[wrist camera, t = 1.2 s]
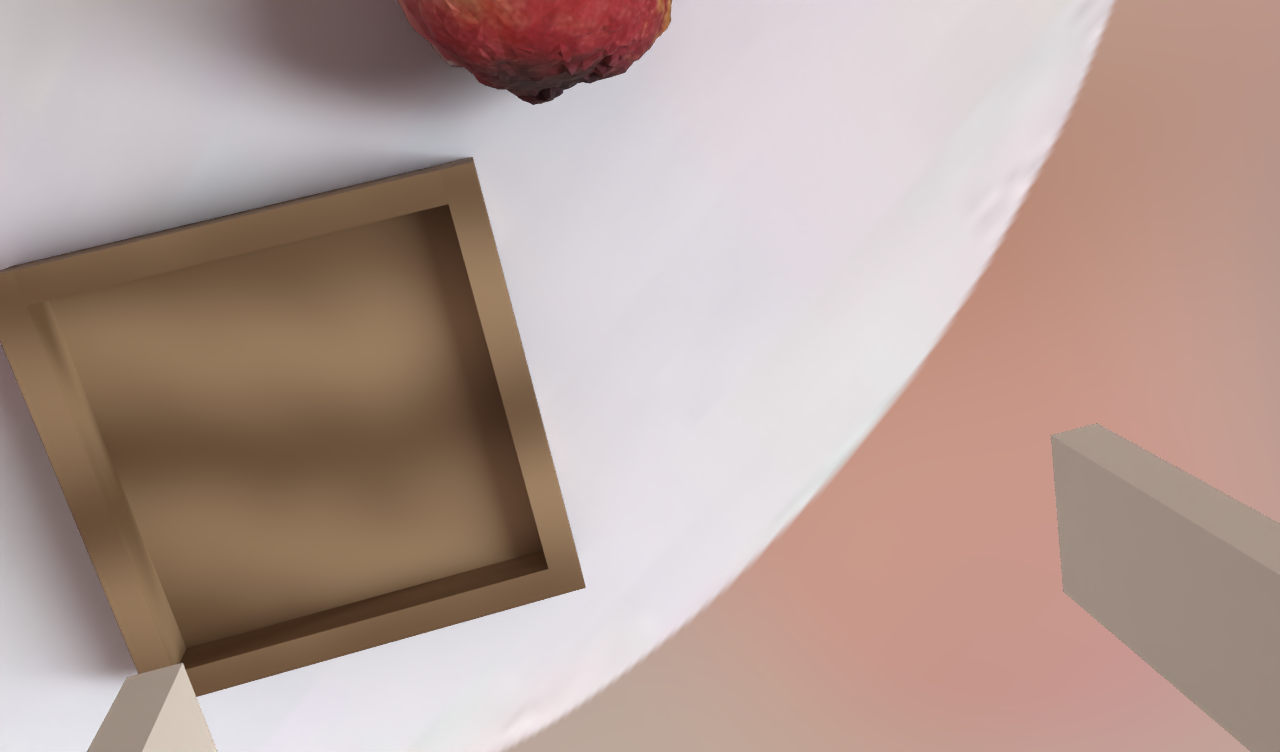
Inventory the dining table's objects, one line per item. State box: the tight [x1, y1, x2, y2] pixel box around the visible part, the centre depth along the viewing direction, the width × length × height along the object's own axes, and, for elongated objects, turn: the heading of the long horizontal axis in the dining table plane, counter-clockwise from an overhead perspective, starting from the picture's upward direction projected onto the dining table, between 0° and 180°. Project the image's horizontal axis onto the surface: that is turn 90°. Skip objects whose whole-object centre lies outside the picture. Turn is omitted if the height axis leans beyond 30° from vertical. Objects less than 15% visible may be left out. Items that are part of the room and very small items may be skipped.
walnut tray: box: [0, 157, 586, 697], centre depth 32 cm, size 14×14×2 cm
